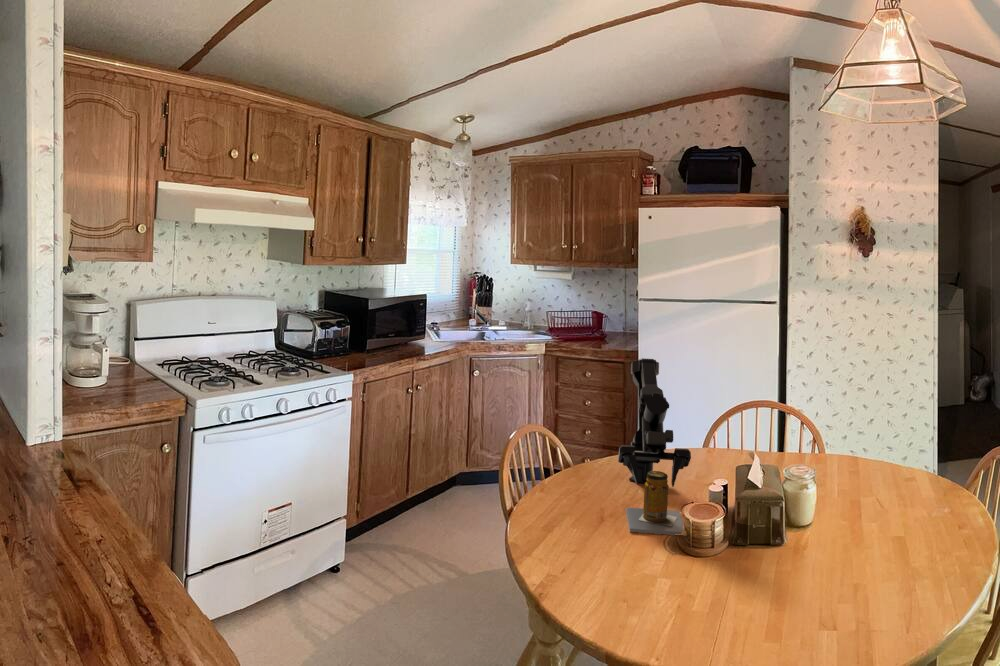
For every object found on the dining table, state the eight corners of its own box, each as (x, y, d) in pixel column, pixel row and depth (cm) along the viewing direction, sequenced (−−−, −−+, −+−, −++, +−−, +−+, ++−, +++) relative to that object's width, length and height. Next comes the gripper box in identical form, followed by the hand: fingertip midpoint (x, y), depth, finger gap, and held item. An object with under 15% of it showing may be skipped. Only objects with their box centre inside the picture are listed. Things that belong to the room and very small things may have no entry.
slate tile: (625, 510, 183) (625, 507, 183) (678, 514, 182) (678, 510, 182) (629, 532, 170) (630, 528, 170) (687, 536, 168) (687, 532, 168)
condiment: (645, 511, 181) (647, 467, 180) (677, 517, 177) (680, 473, 176) (638, 520, 175) (640, 475, 173) (671, 527, 171) (674, 481, 169)
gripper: (621, 416, 183) (621, 469, 173) (692, 419, 181) (696, 473, 171) (617, 436, 191) (618, 487, 182) (685, 440, 189) (689, 492, 180)
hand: (655, 485), depth 179 cm, fingers open, 9 cm apart
